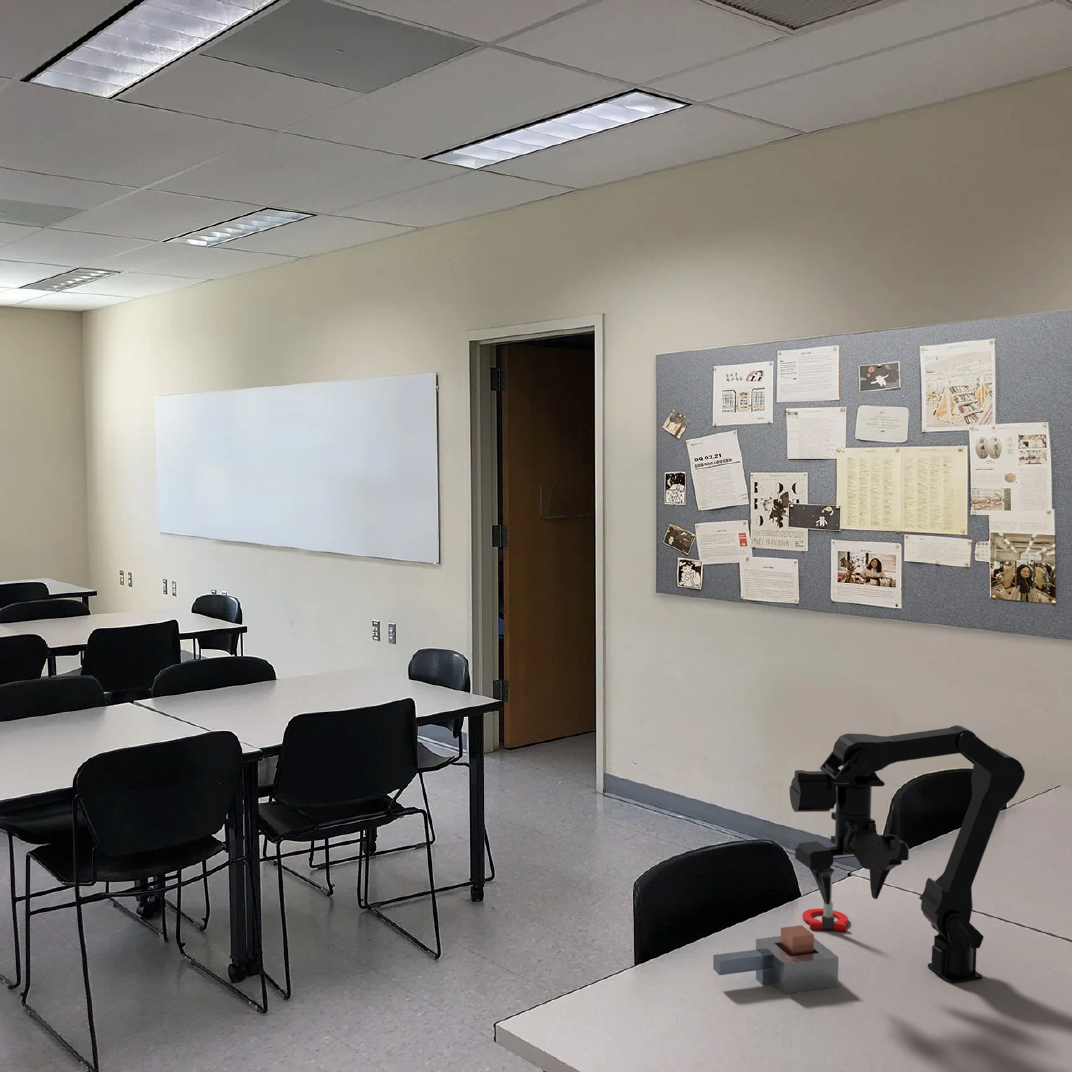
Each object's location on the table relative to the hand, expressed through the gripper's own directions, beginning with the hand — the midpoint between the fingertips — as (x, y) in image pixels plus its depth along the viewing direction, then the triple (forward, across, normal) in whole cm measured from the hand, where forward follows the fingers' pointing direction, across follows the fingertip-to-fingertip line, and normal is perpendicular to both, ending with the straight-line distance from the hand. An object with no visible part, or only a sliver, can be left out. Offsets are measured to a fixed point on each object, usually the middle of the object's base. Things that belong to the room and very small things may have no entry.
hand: (850, 900), depth 187 cm
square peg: (+13, -9, +2) cm, 16 cm away
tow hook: (+13, +8, +21) cm, 26 cm away
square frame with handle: (+13, -14, +2) cm, 19 cm away
